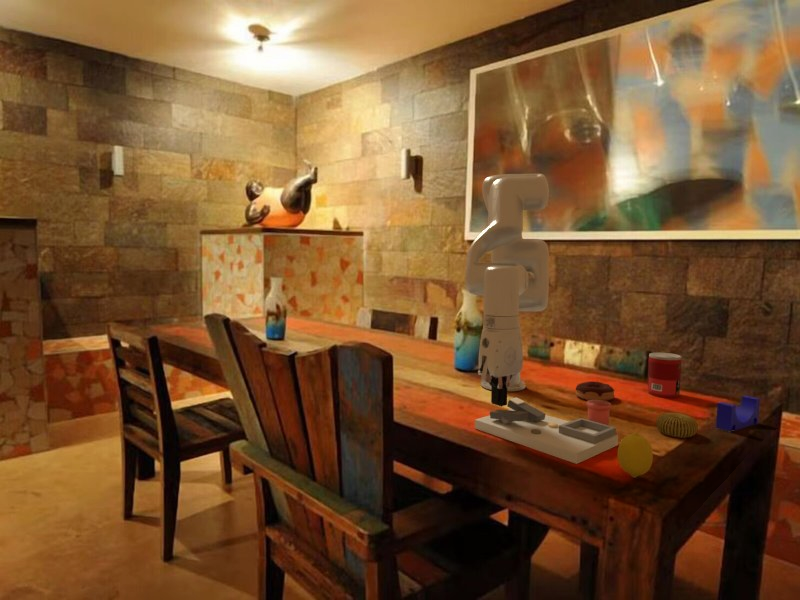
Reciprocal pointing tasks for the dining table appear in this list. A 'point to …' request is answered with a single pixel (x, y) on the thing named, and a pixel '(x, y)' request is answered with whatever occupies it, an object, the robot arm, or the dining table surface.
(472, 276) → the robot arm
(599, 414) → the cap
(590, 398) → the donut
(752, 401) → the blue pipe cradle
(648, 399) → the dining table surface
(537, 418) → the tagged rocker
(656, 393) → the canned food
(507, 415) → the plain rocker
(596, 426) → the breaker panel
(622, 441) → the lemon
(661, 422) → the sculpture
